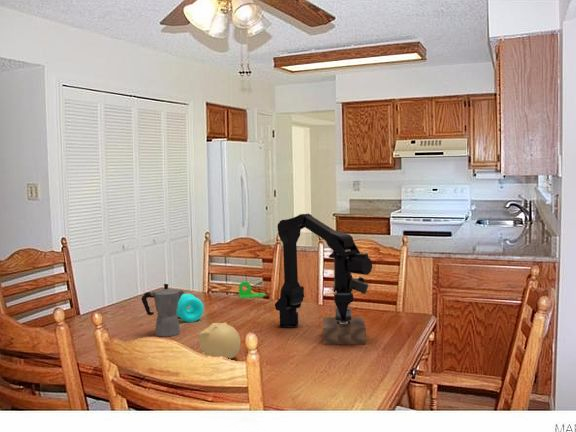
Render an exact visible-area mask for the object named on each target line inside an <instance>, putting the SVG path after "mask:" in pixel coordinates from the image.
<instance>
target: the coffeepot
mask: <svg viewBox="0 0 576 432" xmlns="http://www.w3.org/2000/svg"><path fill="white" fill-rule="evenodd" d="M163 287H164V288H163V289H159V290H156V291H146V292H145V293H144V294H143V295H142V297H141V303H142V304H143V307H144V309H145V311H146V314H147V315H148V316H153V315H154V313H155V311H156V312H157V317H156V321H155V322H156V323H155V328H154V329H155V331H154V335H156V336H157V337H161V336H162V337H166V338H167V337H174V336H177V335H180V333H181V327H180V326H181V325H180V321H179V317H178V316H177V312H176V310H177V308H178V302H179V300H180V298H181V296H182V295H183V294H185V291H184V290H181V289H171V288H169V283H164V284H163ZM148 298H153V299H154V306H155V311H154V312H153V311H151V309H150V306H149V303H148V300H147V299H148Z"/></svg>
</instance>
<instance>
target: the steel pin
mask: <svg viewBox="0 0 576 432" xmlns="http://www.w3.org/2000/svg"><path fill="white" fill-rule="evenodd" d="M334 311H335V314H334V315H335V316H334V317H335V319H336V320H339V324H348V320H351V317H352V308H351V307H349V306H348V308H347V313H346V318H345V320H342V318H341V316H340V313H339V311H338V308H337V307H336V308H335V309H334Z"/></svg>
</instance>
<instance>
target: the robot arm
mask: <svg viewBox="0 0 576 432" xmlns="http://www.w3.org/2000/svg"><path fill="white" fill-rule="evenodd" d="M304 228H306V229H307V230H309V231H310V232H312V233H314V234H315V235H316V236H317V237H320V238H321V239H322V240H324V241H325V242H326V244H327V247H329V249H331V250H332V252H331V254H329V255H328V258H330V259H333V266H334V267H333V270H334V271H333V277H334V279H333V282H334V285H333V287H332V288H333V301H334V303H335V306H336V308H338V311H339V313H340V316H341V318H342V320H345V318H346V313H347V308H348V307H349V305H350V304H351V303H353V302H354V293H353V291H356V292H359V293H361V294H363V295H366V294H367V291H368V288H369V284H368V283H367V282H365V278H364V277H361V276H359V277H358V278H354V277H353V275H352V274H357V275H365V276H368V275H369V274H370V273H371V272H372V269H373V262H372V260H371V258H370V257H369V254H368V253H361V251H360V250H359V248H358V246H357V245H356V243H355V241H354V238H353V236H352V235H351V234H348V233H346V232H343V231H340V230H339V231H338V230H336V229H333V228H331V227H330V226H328V225H326V224H325V223H324V222H322V221H320V220H318V219H317V218H315V216H313V215H312V214H311V213H300V214H297V216H294V217H292V218H288V219H281V220H280V221H279V222H277V233H278V234H277V235H278V238H279V239H280V242H281V243H282V250H283V251H282V253H283V275H284V276H283V277H284V278H283V279H284V282H283V284H282V286H281V288H280V294H279V295H280V296H279V298H278V300H277V301H276V302H275V304H274V307H275V311H279V325H278V327H279V328H297V327H298V325H299V319H300V318H299V312H298V310H297V309H300V308H301V307H302V306H301V305H302V303H303V302H304V298H305V287H304V286H302V285H301V284H300V283H299V276H298V275H299V273H298V252H297V248H298V247H297V245H298V244H297V242H298V241H299V238H300V236H301V230H302V229H304Z"/></svg>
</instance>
